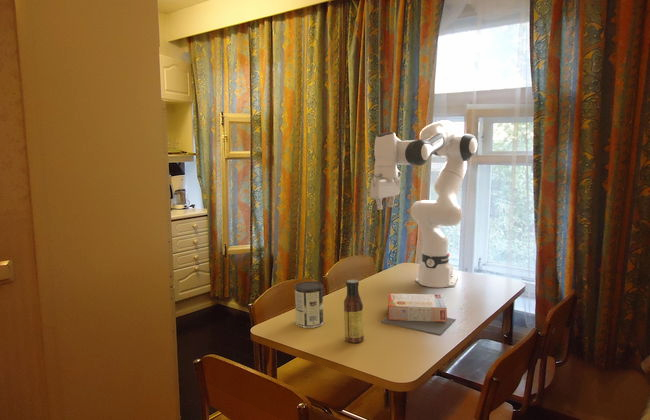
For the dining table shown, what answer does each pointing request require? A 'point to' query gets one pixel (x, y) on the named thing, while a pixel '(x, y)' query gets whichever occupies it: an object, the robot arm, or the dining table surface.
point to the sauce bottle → (353, 313)
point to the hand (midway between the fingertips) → (385, 208)
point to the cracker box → (417, 307)
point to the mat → (422, 325)
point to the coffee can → (309, 304)
